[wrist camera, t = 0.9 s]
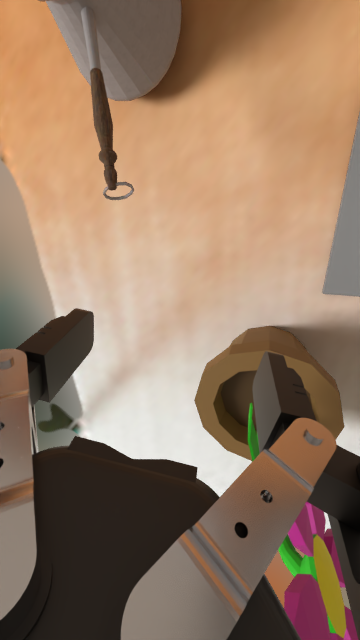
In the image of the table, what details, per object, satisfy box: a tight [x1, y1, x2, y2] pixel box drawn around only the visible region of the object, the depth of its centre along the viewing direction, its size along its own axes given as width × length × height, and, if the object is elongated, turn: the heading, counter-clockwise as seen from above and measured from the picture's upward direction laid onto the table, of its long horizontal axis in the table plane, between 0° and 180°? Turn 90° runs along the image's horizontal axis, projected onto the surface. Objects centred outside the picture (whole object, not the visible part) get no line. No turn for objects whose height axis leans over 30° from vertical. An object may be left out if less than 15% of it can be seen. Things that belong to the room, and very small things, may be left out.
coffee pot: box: [39, 0, 182, 200], centre depth 22 cm, size 21×12×15 cm, turn 19°
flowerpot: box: [194, 326, 358, 640], centre depth 23 cm, size 14×14×30 cm
